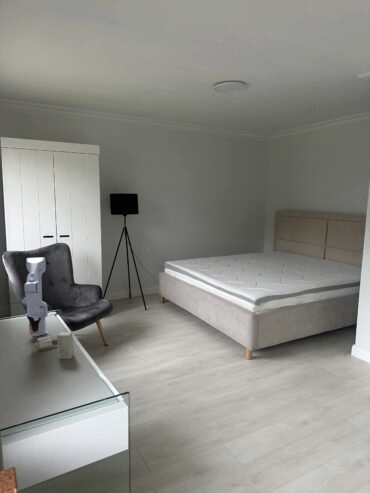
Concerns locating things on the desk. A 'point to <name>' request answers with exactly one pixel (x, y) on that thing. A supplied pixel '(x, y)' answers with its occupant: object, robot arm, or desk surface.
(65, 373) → the desk surface
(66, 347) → the skincare box
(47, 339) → the plate
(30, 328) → the terracotta block
